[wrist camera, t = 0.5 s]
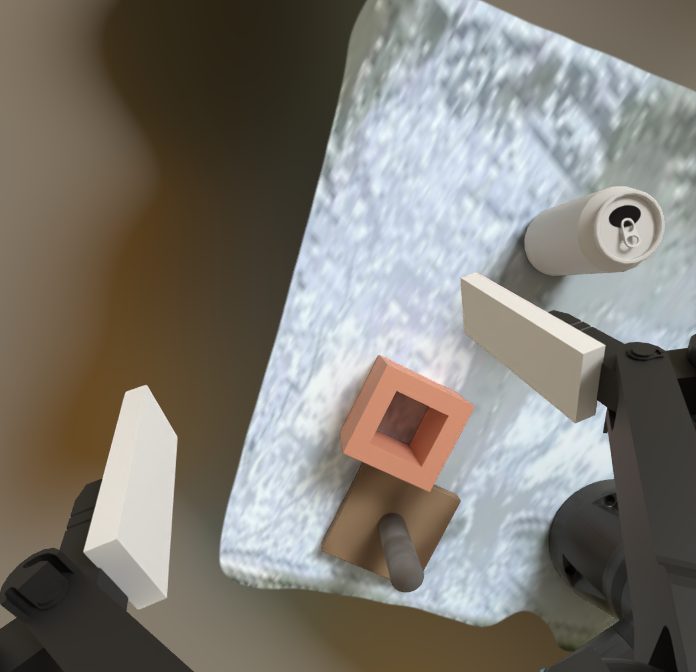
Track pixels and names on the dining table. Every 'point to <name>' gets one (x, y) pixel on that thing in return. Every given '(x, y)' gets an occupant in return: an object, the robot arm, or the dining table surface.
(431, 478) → the collar
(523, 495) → the dining table surface
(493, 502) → the dining table surface
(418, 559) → the post stand
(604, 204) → the can
